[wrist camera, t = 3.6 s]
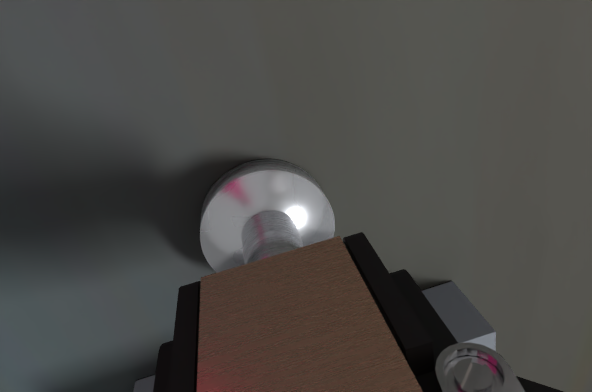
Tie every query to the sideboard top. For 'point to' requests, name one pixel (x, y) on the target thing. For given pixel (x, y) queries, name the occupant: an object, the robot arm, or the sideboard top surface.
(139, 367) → the sideboard top surface
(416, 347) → the robot arm
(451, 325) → the keyhole board
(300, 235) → the keyhole peg
